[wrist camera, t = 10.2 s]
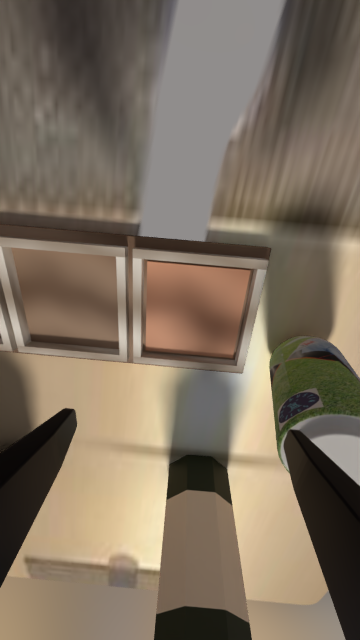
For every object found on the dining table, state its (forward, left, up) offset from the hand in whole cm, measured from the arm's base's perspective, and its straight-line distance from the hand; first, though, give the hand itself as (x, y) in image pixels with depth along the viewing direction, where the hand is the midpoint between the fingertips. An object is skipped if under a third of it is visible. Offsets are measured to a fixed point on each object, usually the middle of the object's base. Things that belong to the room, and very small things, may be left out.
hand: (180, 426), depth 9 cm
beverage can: (-3, -8, -1) cm, 8 cm away
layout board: (+1, +10, -13) cm, 16 cm away
